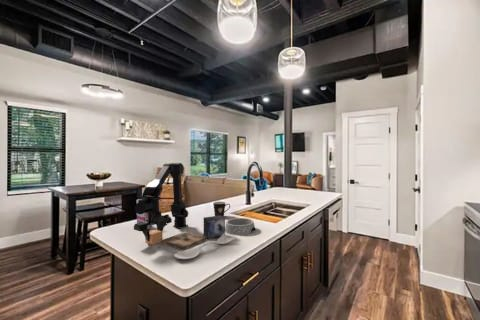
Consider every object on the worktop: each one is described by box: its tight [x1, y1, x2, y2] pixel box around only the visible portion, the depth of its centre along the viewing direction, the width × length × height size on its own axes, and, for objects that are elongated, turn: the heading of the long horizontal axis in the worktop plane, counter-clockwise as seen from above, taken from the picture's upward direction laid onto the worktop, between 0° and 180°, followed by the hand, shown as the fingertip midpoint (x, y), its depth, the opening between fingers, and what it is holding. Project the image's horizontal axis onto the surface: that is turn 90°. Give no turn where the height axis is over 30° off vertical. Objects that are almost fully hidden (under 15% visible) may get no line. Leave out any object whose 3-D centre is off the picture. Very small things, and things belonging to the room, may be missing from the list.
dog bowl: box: [225, 217, 256, 236], centre depth 139 cm, size 17×18×5 cm
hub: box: [144, 229, 164, 245], centre depth 122 cm, size 6×6×5 cm
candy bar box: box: [136, 198, 153, 228], centre depth 149 cm, size 11×5×16 cm, turn 49°
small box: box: [202, 215, 226, 241], centre depth 128 cm, size 11×6×10 cm, turn 117°
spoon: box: [173, 232, 237, 260], centre depth 110 cm, size 9×32×4 cm, turn 137°
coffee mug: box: [212, 201, 231, 218], centre depth 169 cm, size 12×9×10 cm
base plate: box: [161, 231, 208, 251], centre depth 121 cm, size 16×16×4 cm
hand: (153, 239), depth 122 cm, fingers closed on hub, 6 cm apart
